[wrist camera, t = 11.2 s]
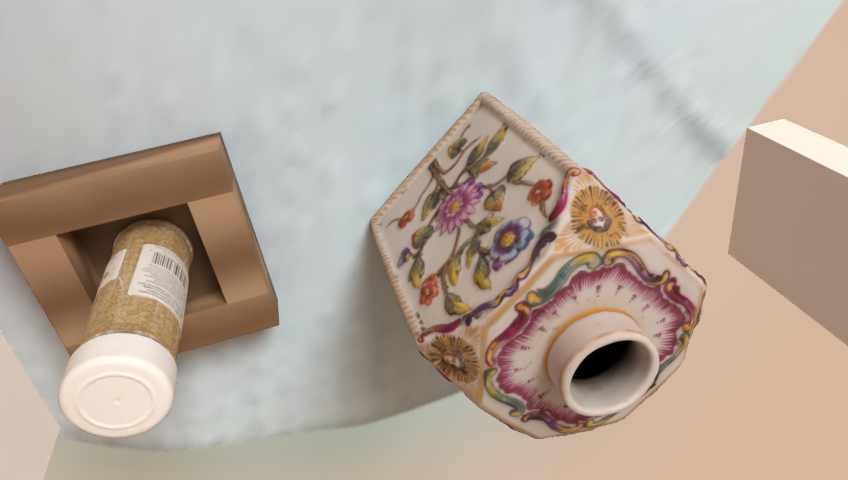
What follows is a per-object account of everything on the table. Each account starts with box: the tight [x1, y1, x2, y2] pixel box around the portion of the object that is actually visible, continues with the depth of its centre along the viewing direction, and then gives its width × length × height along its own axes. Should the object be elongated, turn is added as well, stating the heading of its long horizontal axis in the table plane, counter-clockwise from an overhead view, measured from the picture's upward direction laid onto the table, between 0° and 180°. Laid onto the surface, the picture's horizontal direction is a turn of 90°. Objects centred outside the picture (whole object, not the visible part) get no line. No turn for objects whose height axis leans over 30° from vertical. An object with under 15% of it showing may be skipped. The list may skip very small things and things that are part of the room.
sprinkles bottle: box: [58, 219, 194, 437], centre depth 32 cm, size 5×5×13 cm
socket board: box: [0, 132, 279, 356], centre depth 37 cm, size 12×12×3 cm
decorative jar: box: [370, 92, 706, 439], centre depth 35 cm, size 12×12×18 cm
